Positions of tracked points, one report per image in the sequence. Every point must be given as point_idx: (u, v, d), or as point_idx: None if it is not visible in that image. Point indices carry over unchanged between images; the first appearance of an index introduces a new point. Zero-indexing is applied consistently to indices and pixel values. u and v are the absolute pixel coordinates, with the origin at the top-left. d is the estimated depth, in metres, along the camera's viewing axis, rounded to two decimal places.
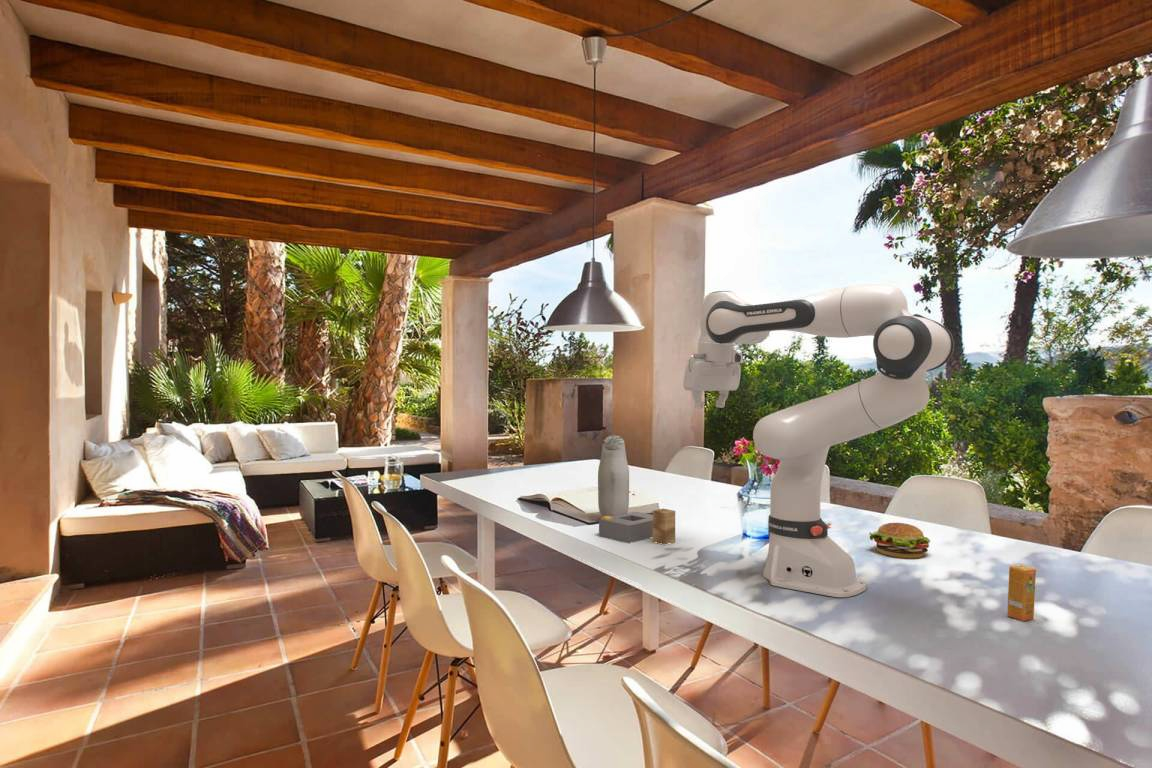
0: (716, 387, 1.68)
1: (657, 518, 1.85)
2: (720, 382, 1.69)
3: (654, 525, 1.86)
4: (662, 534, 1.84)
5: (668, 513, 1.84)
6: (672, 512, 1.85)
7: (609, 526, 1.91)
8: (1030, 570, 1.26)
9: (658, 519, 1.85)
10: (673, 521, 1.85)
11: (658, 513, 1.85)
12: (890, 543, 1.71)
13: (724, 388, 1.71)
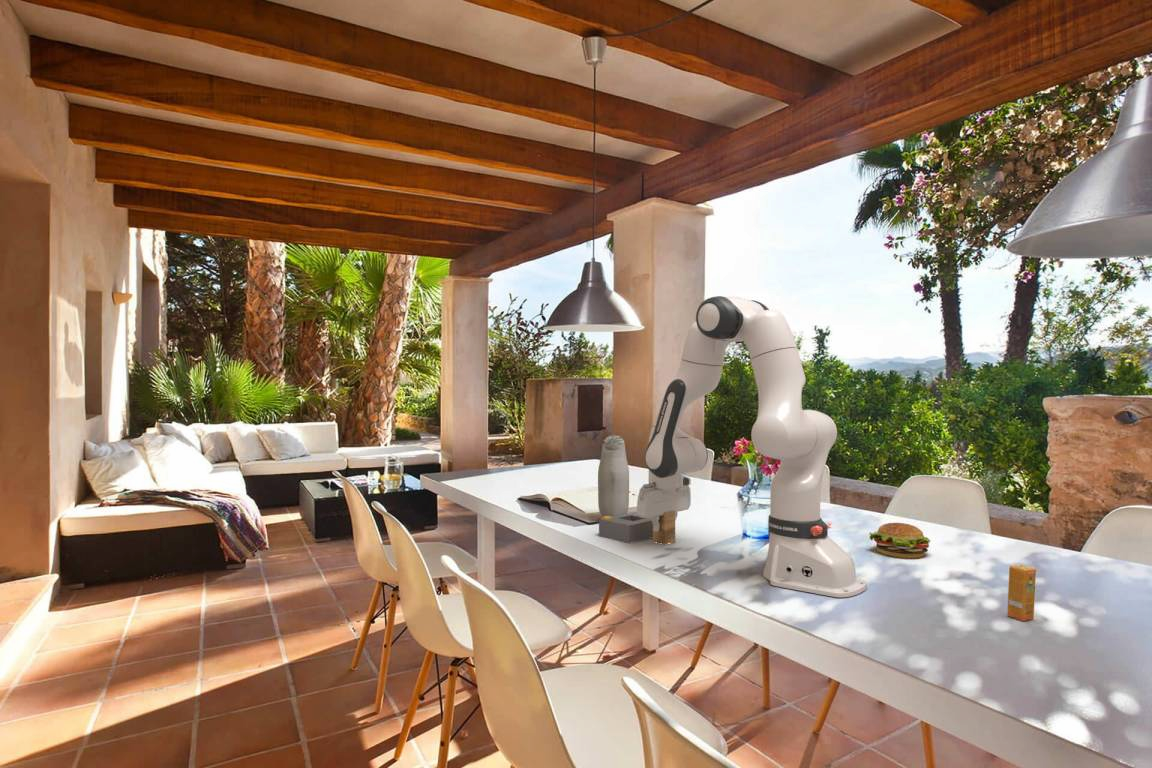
0: (668, 511, 1.85)
1: None
2: (671, 505, 1.86)
3: None
4: (662, 534, 1.84)
5: (668, 513, 1.84)
6: (672, 512, 1.85)
7: (609, 526, 1.91)
8: (1030, 570, 1.26)
9: None
10: (673, 521, 1.85)
11: None
12: (890, 543, 1.71)
13: (676, 509, 1.87)
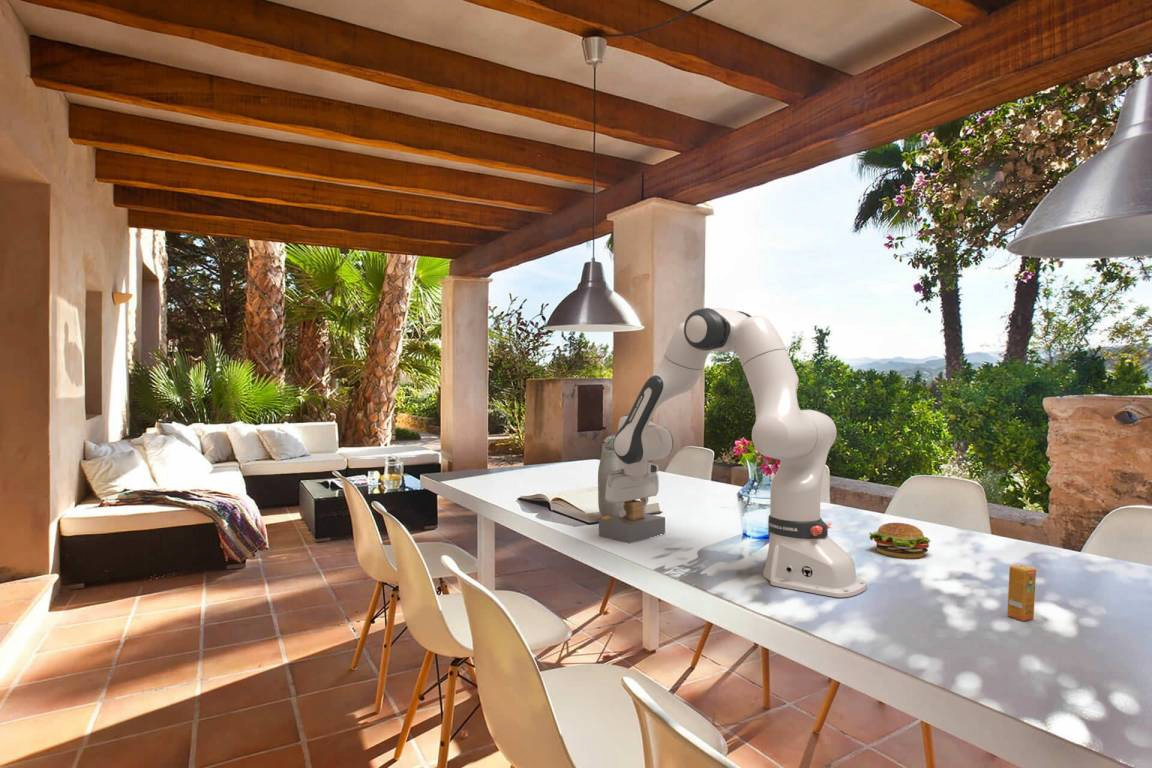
0: (636, 496, 1.93)
1: (625, 508, 1.94)
2: (639, 491, 1.94)
3: None
4: None
5: (636, 503, 1.93)
6: (640, 502, 1.94)
7: (609, 526, 1.91)
8: (1030, 570, 1.26)
9: (627, 509, 1.93)
10: (641, 511, 1.94)
11: (626, 503, 1.93)
12: (890, 543, 1.71)
13: (644, 495, 1.96)
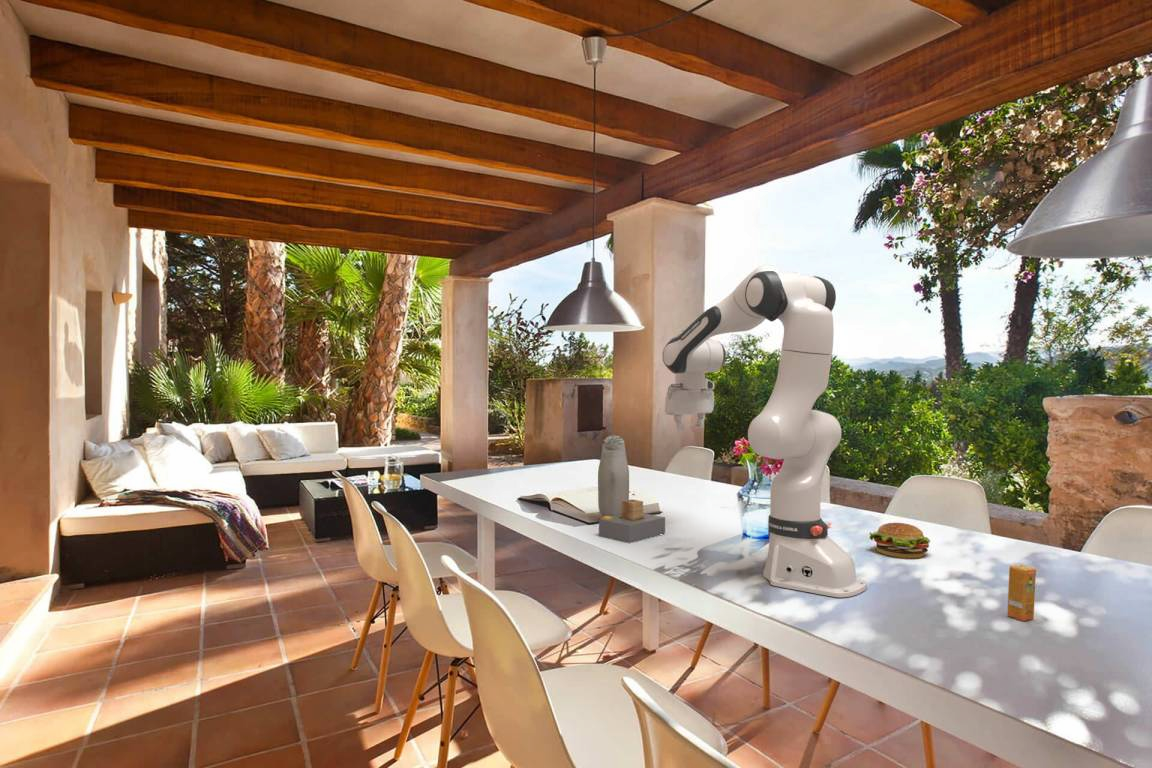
0: (693, 411, 1.98)
1: (625, 508, 1.94)
2: (697, 406, 1.99)
3: (623, 515, 1.94)
4: None
5: (636, 503, 1.93)
6: (640, 502, 1.94)
7: (609, 526, 1.91)
8: (1030, 570, 1.26)
9: (627, 509, 1.93)
10: (641, 511, 1.94)
11: (626, 503, 1.93)
12: (890, 543, 1.71)
13: (701, 411, 2.00)
